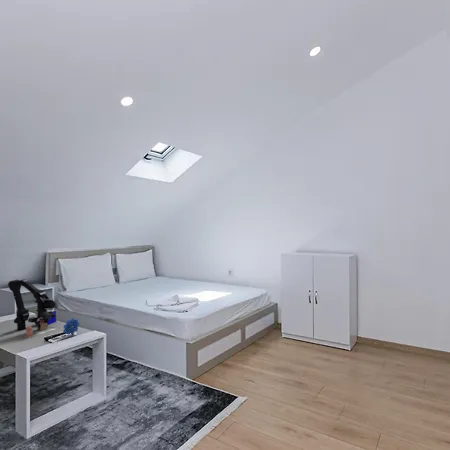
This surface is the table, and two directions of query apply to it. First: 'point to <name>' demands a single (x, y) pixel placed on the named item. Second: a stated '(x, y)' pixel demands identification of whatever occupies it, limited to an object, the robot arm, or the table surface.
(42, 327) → the tan cardboard cube
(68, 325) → the grapes
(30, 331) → the pawn
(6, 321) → the table surface
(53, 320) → the puzzle cube
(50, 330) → the board
